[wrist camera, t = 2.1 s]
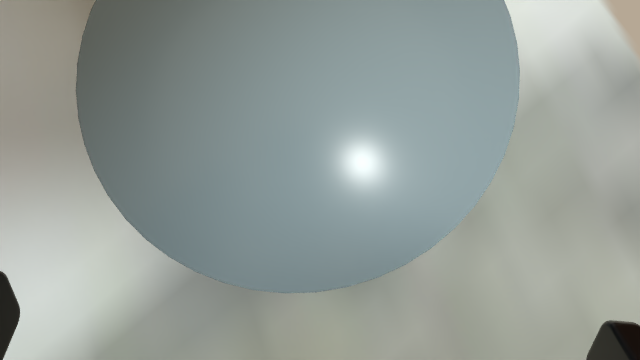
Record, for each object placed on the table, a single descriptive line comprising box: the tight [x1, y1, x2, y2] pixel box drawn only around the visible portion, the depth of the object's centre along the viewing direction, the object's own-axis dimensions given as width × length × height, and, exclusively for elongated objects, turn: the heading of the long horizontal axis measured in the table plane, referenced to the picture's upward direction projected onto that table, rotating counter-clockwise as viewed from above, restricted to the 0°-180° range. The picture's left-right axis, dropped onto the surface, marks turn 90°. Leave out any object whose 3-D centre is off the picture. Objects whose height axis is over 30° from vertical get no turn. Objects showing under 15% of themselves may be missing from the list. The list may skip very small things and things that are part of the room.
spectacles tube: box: [76, 0, 520, 293], centre depth 12 cm, size 5×5×13 cm
